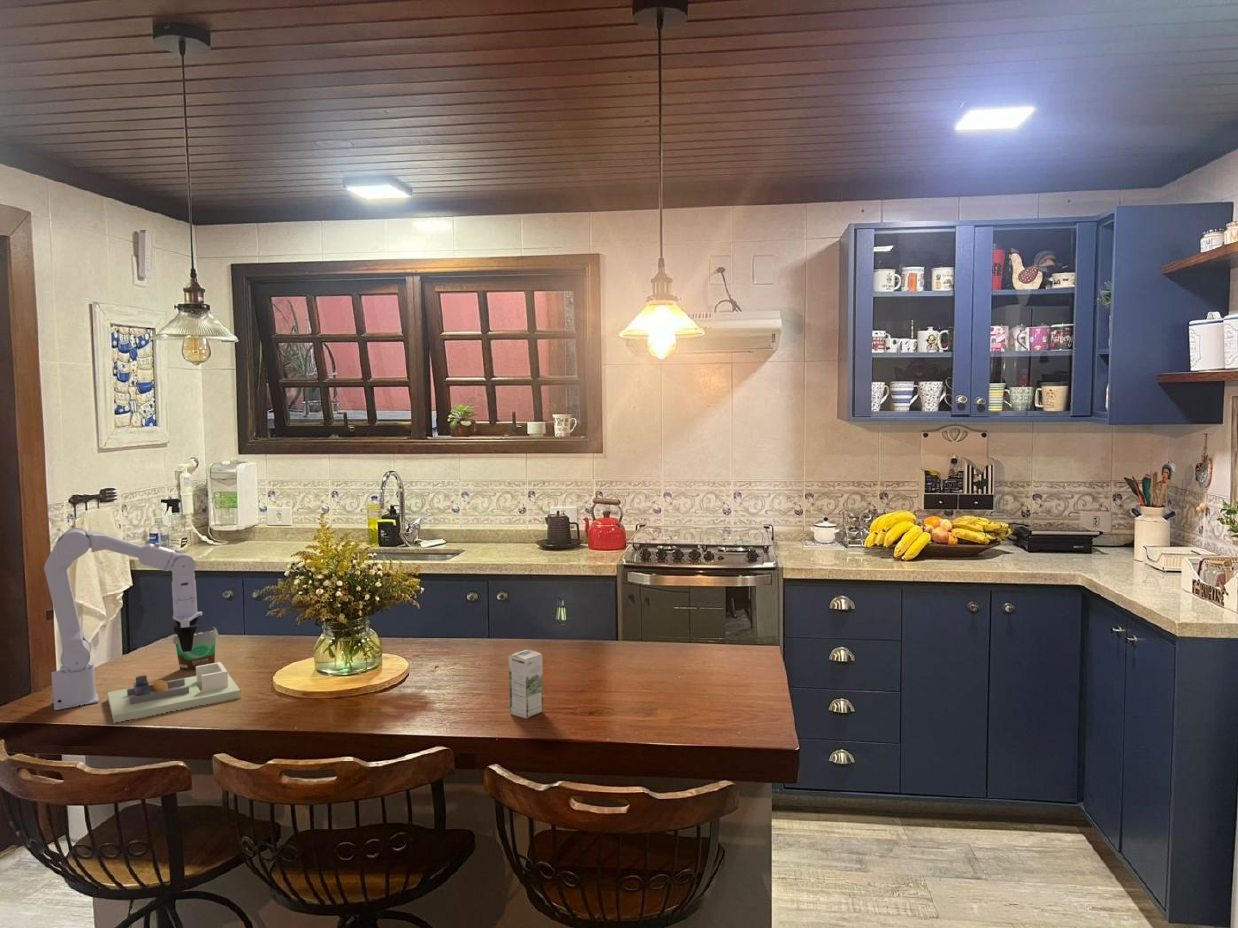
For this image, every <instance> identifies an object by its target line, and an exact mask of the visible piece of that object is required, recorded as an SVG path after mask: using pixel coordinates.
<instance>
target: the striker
mask: <svg viewBox="0 0 1238 928" xmlns="http://www.w3.org/2000/svg"><path fill="white" fill-rule="evenodd" d="M149 685H150V683H149V681H148V676H147V675H138V676H136V677H135V682H133V687H134V694H135V696H139V695H144V694H150V686H149Z"/></svg>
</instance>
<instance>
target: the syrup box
mask: <svg viewBox="0 0 1238 928" xmlns="http://www.w3.org/2000/svg"><path fill="white" fill-rule="evenodd" d="M543 674H544V673H543V654H542V653H540V652H538V651H535V650H531V649H524V650H522V651H518V652H514V653H513V654H509V655H508V680H509V682H508V683H509V713H510V715H513V716H516V717H518V718H522V719H526V720H527V719H530V718H531V717H534V716H537V715H538V714H541V713H543V712H544V692H543V691H544V688H543V685H544V684H543V680H544V679H543V678H544V677H543Z"/></svg>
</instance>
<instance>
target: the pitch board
mask: <svg viewBox="0 0 1238 928" xmlns="http://www.w3.org/2000/svg"><path fill="white" fill-rule="evenodd" d="M227 674H228V687H223V688H218V689H213V690H208V691H202V681H201V682H197V678H196V675H195V676H188V677H184V678H183V677H182V678H177V679H173V680H171V679H170V680H168V681H167V680H166V682H167V684H168V688H167V690H166V691H160V692H155V693H154V692H153V690H152V686H153V684H154V683H151V684H150V683H149V686H150V694H144V695H139V696H135V694H134V686H133V687H129V688H123V689H117V690H112V691H108V692H107V702H108V706H109V705H110V706H109V709H110V710H109V711H110V713H111V717H112V722H113V724H116V723H115V722H119V723H122V722H121V721H124V722H126V721H125V720H129V719H134V720H138V718H139V719H142V718H143V719H144V718H148V716H149V717H153V716H157V714H158V715H162V714H161V713H163V714H166V712H168V713H170V712H169V711H173V712H177V711H176V710H178V711H182V710H181V709H183V710H186V709H185V708H188V709H190V707H193V708H196V707H195V706H198V707H200V706H199V705H203V706H207V705H206V704H208V705H212V704H217V703H221V702H227V701H231V700H236V699H241V698H242V694H241V689H240V688H239V686H238V685H237V684H236V682H235V681H234V679H233V678H232V677H231V675H230V674H229V671H227ZM152 715H153V716H152ZM129 721H130V720H129Z"/></svg>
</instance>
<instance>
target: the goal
mask: <svg viewBox="0 0 1238 928" xmlns="http://www.w3.org/2000/svg"><path fill="white" fill-rule="evenodd" d="M227 672H228V670H227V669H226V668H225V666H224V664H223V663H222V662H221V661H219V662H218V661H217V662H215V663H212V664H206V665H201V666H196V670H195V676H196V678H197V682H201V681H202V689H201V691H208V690H213V689H218V688H223V687H228V674H229V673H228V674H227Z"/></svg>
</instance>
